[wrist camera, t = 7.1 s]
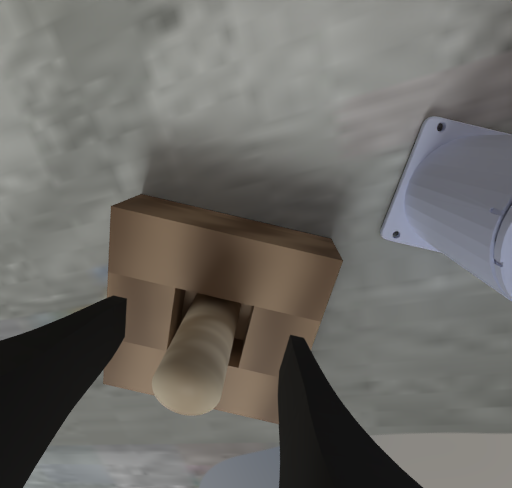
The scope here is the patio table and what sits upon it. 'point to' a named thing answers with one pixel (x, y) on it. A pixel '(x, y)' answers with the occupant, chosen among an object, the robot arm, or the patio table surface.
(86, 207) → the patio table surface
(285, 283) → the socket block
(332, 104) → the patio table surface
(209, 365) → the peg
